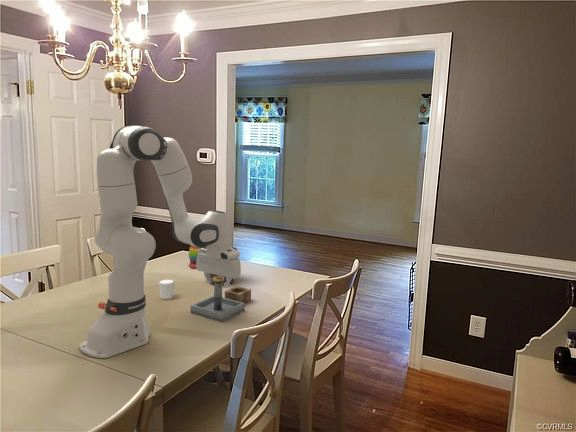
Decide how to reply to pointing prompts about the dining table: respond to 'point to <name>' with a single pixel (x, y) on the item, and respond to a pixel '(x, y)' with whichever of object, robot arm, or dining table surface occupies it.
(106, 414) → the dining table surface
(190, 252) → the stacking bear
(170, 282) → the white cylinder
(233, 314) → the tray
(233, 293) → the pin block
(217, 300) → the steel pin
